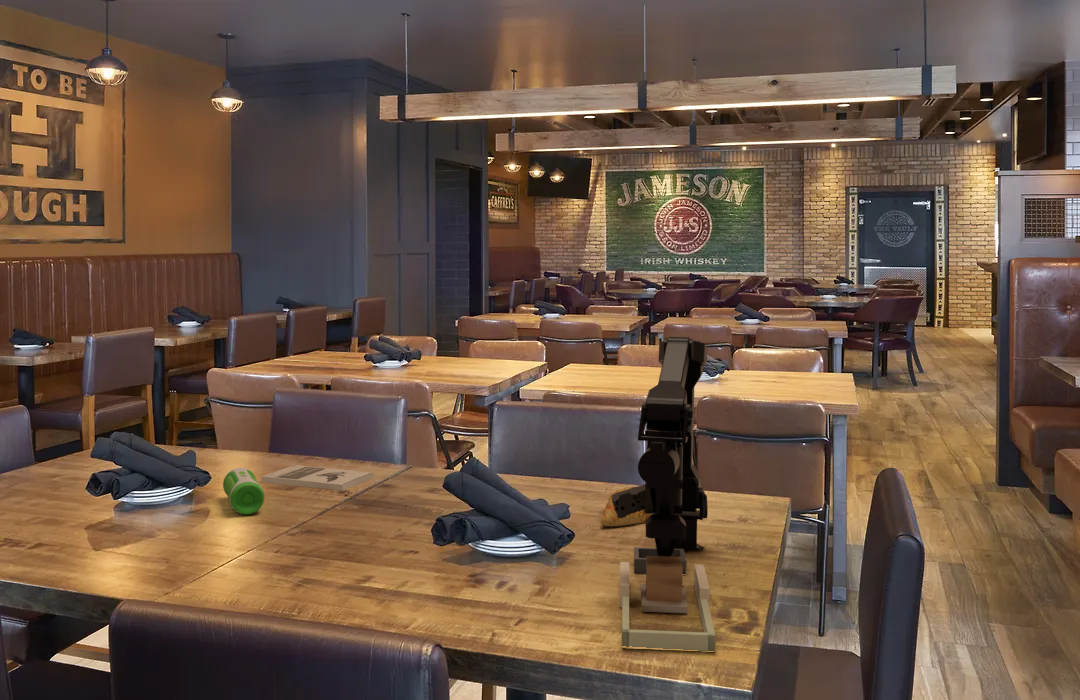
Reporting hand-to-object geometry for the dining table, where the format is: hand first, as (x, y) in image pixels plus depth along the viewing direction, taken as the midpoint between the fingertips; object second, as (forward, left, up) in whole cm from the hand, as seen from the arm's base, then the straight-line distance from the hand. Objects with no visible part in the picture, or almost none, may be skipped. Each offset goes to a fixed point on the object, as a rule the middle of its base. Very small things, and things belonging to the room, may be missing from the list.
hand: (662, 566), depth 159 cm
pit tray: (+12, -6, -5) cm, 14 cm away
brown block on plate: (-4, +2, -5) cm, 6 cm away
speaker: (+82, +59, -5) cm, 101 cm away
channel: (-2, +1, -5) cm, 5 cm away
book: (+101, +40, -5) cm, 109 cm away
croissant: (+44, -16, -5) cm, 47 cm away
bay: (-14, +7, -5) cm, 17 cm away
